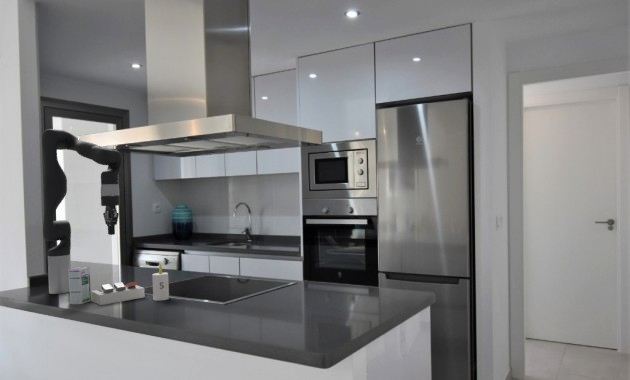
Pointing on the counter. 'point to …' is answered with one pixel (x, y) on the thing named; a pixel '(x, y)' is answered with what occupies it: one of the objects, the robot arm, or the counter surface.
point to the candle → (160, 285)
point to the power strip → (118, 295)
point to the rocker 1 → (107, 288)
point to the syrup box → (79, 285)
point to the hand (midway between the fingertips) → (111, 234)
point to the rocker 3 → (131, 284)
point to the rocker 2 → (119, 286)
